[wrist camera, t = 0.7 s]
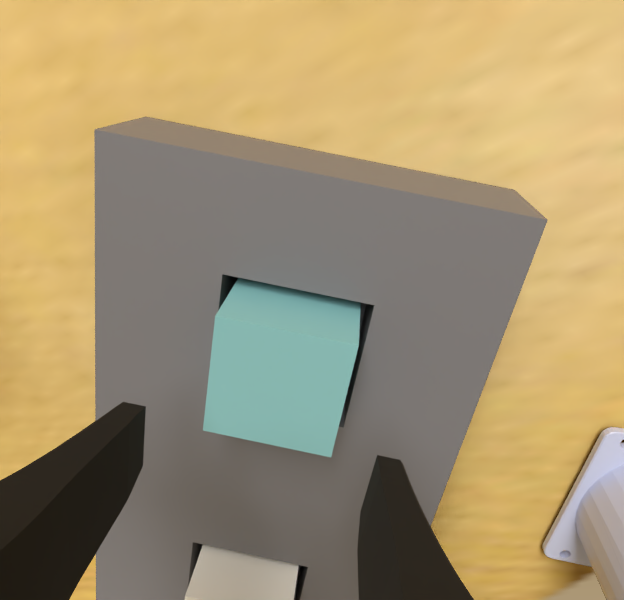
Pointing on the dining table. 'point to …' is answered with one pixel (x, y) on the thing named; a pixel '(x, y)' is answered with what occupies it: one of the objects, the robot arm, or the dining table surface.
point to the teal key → (281, 366)
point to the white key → (240, 577)
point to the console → (302, 276)
